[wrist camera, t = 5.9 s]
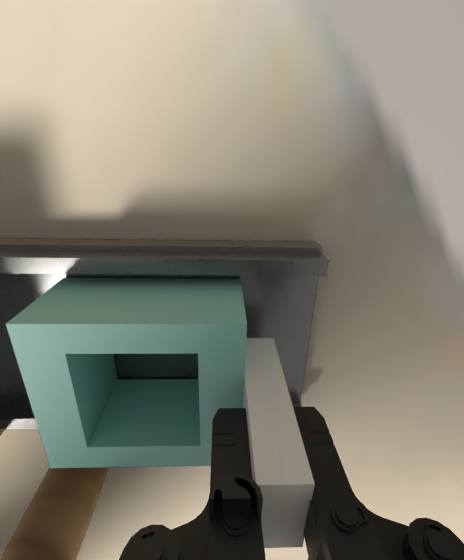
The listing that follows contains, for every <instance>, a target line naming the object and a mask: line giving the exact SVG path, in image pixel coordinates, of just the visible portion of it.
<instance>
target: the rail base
mask: <svg viewBox="0 0 464 560" xmlns="http://www.w3.org/2000/svg"><path fill="white" fill-rule="evenodd" d="M321 252H322V247H321V246H320V245H319V244H318V243H316V242H289V241H202V240H115V239H29V238H0V435H1V434H2V433H3V431H4V430H5V429H38V427H37V423H36V420H35V417H34V414H33V411H32V407H31V404H30V401H29V398H28V394H27V391H26V388H25V385H24V381H23V378H22V375H21V372H20V369H19V365H18V362H17V359H16V356H15V352H14V349H13V346H12V343H11V340H10V336H9V333H8V330H7V327H6V323H7V322H9V321H10V320H11V319H12V318H14V317H15V316H16V315H17V314H19V313H20V312H21V311H22V310H24V309H25V308H26V307H28V306H29V305H30V304H31V303H33V302H34V301H35V300H36V299H38V298H39V297H40V296H41V295H43V294H44V293H45V292H46V291H48V290H49V289H50V288H51V287H53V286H54V285H55V284H56V283H58V282H59V281H60V280H61V279H63V278H177V279H240V280H241V287H242V293H243V300H244V307H245V313H246V320H247V338H274V342H275V345H276V349H277V352H278V356H279V359H280V363H281V366H282V370H283V374H284V377H285V381H286V384H287V388H288V391H289V395H290V398H291V402H292V405H293V407H302V405H301V402H300V401H301V394H302V387H303V380H304V372H305V365H306V358H307V351H308V344H309V337H310V330H311V323H312V316H313V309H314V302H315V295H316V288H317V281H318V276H326V274H327V267H328V261H329V260H328V259H327V258H326V257H325V256H324V255H323V254H322V253H321ZM114 359H115V365H116V371H117V378H118V379H199V378H198V353H195V354H114Z"/></svg>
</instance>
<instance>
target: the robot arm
mask: <svg viewBox="0 0 464 560" xmlns="http://www.w3.org/2000/svg"><path fill="white" fill-rule="evenodd" d="M304 537H305V542H306V546H307V551H308V556H309V557H308V560H464V544H463V542H462V541H461V540H460V539H459V538H458V537H457V536H456V535H455V534H454V533H453V532H452V531H451V530H450V529H449V528H447V527H445V526H444V525H442V524H441V523H439V522H438V521H434V520H431V519H428V518H417V519H415V520H414V521H413V522H411V523H410V525H409V526H406V525H403V524H400V523H397V522H394V521H391V520H388V519H385V518H382V517H380V516H378V515H376V514H374V513H372V512H371V511H369V510H368V509H367V508H366V507H365V506H364V505H363V504H362V503H361V502H360V501H359V500H358V499H357V497H356V496H355V495H354V493H353V491H352V489H351V487H350V484H349V482H348V479H347V476H346V474H345V471H344V469H343V466H342V463H341V461H340V458H339V456H338V453H337V451H336V448H335V445H334V444H333V440H332V438H331V435H330V434H329V430H328V427H327V425H326V422H325V420H324V418H323V417H322V415H321V414H320V413H319V412H318V411H317V410H316V409H315V407H293V405H292V402H291V398H290V395H289V391H288V388H287V384H286V381H285V377H284V374H283V370H282V366H281V363H280V359H279V356H278V352H277V349H276V345H275V342H274V338H246V360H245V381H244V402H243V408H218V410H217V412H216V414H215V416H214V418H213V420H212V450H211V481H210V495H209V500H208V502H207V505H206V507H205V508H204V510H203V511H202V513H201V514H200V515H199V516H198V517H197V518H195V519H194V520H192V521H190V522H189V523H187V524H184V525H182V526H179V527H177V528H175V529H172V530H170V529H169V528H167V527H165V526H163V525H150V526H147V527H145V528H142V529H140V530H139V531H138V532H137V533H136V534H135V535H133V536H132V537H131V539H130V540H129V542H128V543H127V545H126V546H125V548H124V550H123V552H122V554H121V556H120V559H119V560H265V551H264V548H279V547H302V546H303V541H304Z"/></svg>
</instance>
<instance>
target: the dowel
mask: <svg viewBox="0 0 464 560" xmlns="http://www.w3.org/2000/svg"><path fill="white" fill-rule="evenodd" d="M108 468H109V467H93V468H49V470H48V472H47V474H46V475H45V477H44V479H43V481H42V483H41V485H40V487H39V488H38V490H37V492H36V494H35V496H34V498H33V499H32V501H31V503H30V505H29V507H28V509H27V510H26V512H25V514H24V516H23V518H22V520H21V521H20V523H19V525H18V527H17V529H16V531H15V533H14V534H13V536H12V538H11V540H10V542H9V544H8V545H7V547H6V549H5V551H4V553H3V555H2V556H1V558H0V560H76V558H77V555H78V553H79V550H80V547H81V544H82V541H83V539H84V536H85V533H86V530H87V527H88V525H89V522H90V519H91V516H92V513H93V511H94V508H95V505H96V502H97V499H98V497H99V494H100V491H101V488H102V485H103V482H104V480H105V477H106V474H107V471H108Z"/></svg>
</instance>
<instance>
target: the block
mask: <svg viewBox="0 0 464 560" xmlns="http://www.w3.org/2000/svg"><path fill="white" fill-rule="evenodd" d="M6 327H7V330H8V333H9V336H10V340H11V343H12V346H13V349H14V352H15V356H16V359H17V362H18V365H19V369H20V372H21V375H22V378H23V381H24V385H25V388H26V391H27V394H28V398H29V401H30V404H31V407H32V411H33V414H34V417H35V420H36V423H37V427H38V430H39V433H40V436H41V440H42V443H43V446H44V449H45V452H46V456H47V459H48V462H49V465H50V468H93V467H153V466H211V450H212V420H213V418H214V416H215V414H216V412H217V410H218V408H243V402H244V381H245V360H246V338H247V320H246V313H245V307H244V300H243V293H242V287H241V280H240V279H177V278H63V279H61V280H60V281H59V282H58V283H56V284H55V285H54V286H53V287H51V288H50V289H49V290H48V291H46V292H45V293H44V294H43V295H41V296H40V297H39V298H38V299H36V300H35V301H34V302H33V303H31V304H30V305H29V306H28V307H26V308H25V309H24V310H22V311H21V312H20V313H19V314H17V315H16V316H15V317H14V318H12V319H11V320H10V321H9V322H7V323H6ZM195 353H198V378H199V379H118V378H117V371H116V365H115V359H114V354H195Z"/></svg>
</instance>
